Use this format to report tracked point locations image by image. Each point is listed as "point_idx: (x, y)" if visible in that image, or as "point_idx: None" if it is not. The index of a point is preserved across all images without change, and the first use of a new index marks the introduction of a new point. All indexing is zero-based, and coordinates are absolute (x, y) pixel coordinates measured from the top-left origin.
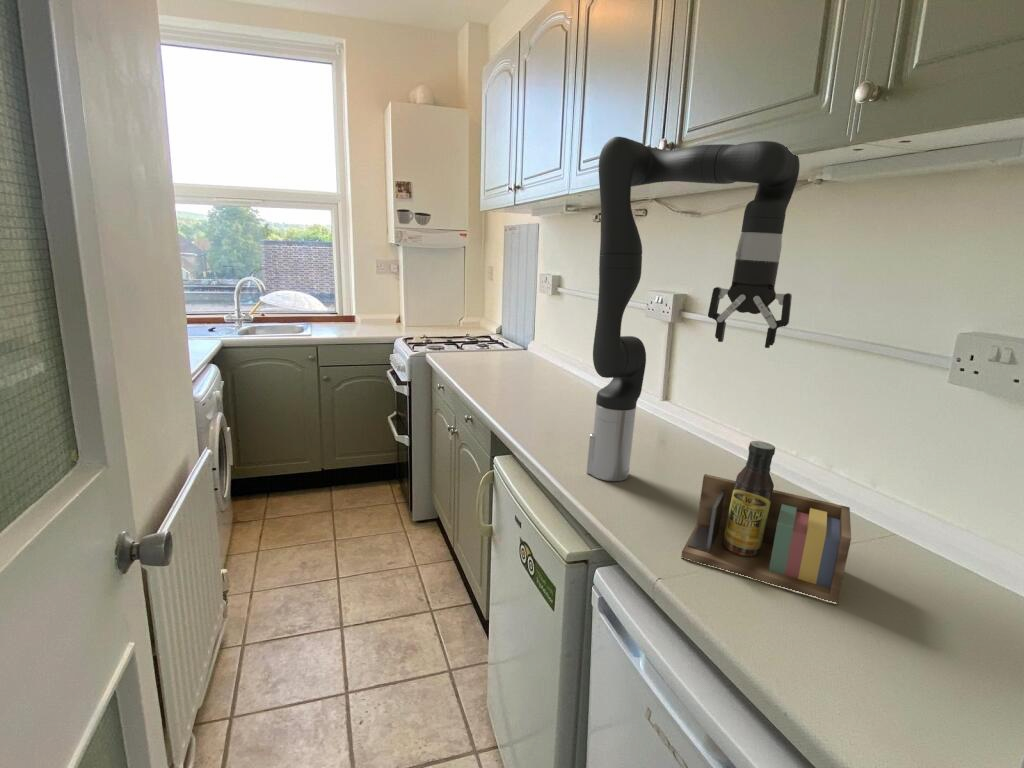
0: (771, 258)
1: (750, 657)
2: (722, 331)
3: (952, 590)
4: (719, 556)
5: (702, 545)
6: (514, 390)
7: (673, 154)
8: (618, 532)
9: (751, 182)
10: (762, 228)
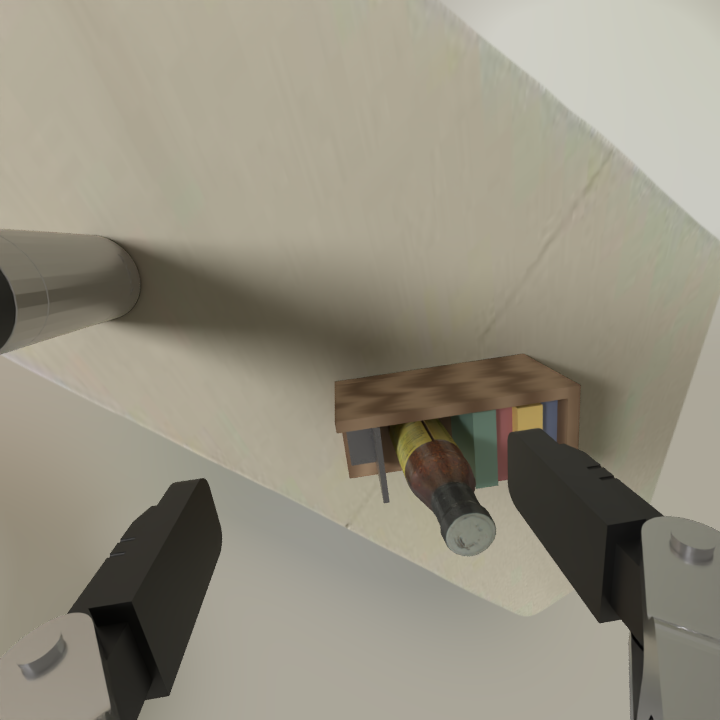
0: None
1: (459, 573)
2: (196, 616)
3: (655, 307)
4: (393, 459)
5: (367, 453)
6: None
7: None
8: (253, 469)
9: None
10: None
